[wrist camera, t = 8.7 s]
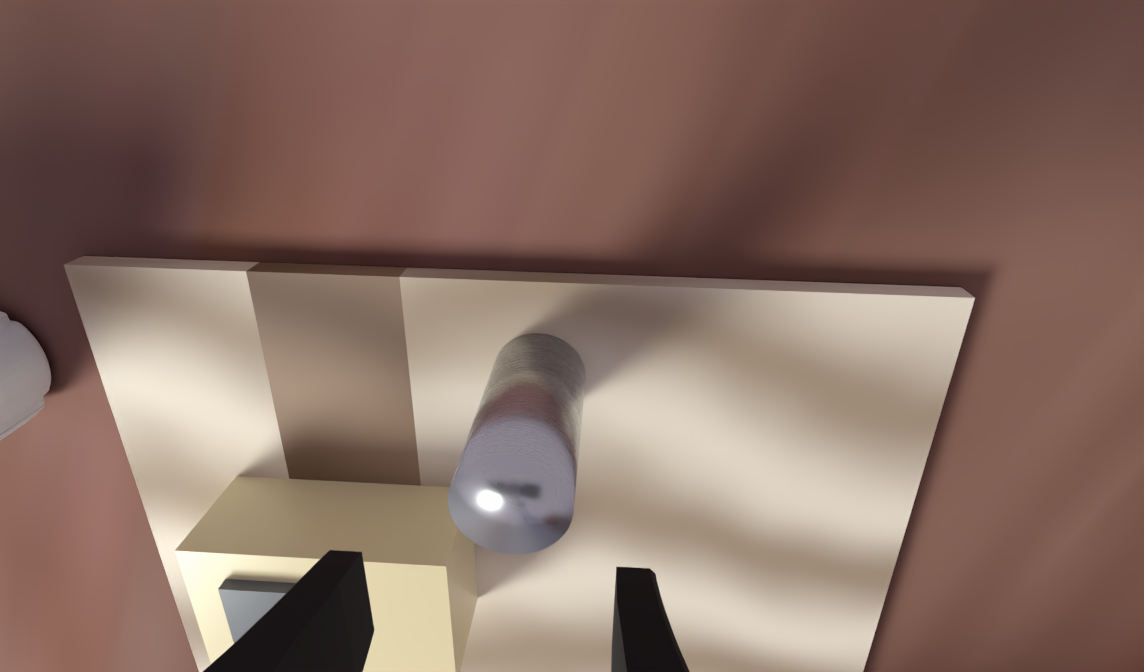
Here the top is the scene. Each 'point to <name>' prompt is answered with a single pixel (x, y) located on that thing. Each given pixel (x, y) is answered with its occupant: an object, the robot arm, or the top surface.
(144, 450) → the subfloor board
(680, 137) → the top surface
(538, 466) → the silver metal cylinder
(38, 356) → the white rounded block
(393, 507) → the cream rectangular block
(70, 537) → the top surface
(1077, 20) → the top surface
